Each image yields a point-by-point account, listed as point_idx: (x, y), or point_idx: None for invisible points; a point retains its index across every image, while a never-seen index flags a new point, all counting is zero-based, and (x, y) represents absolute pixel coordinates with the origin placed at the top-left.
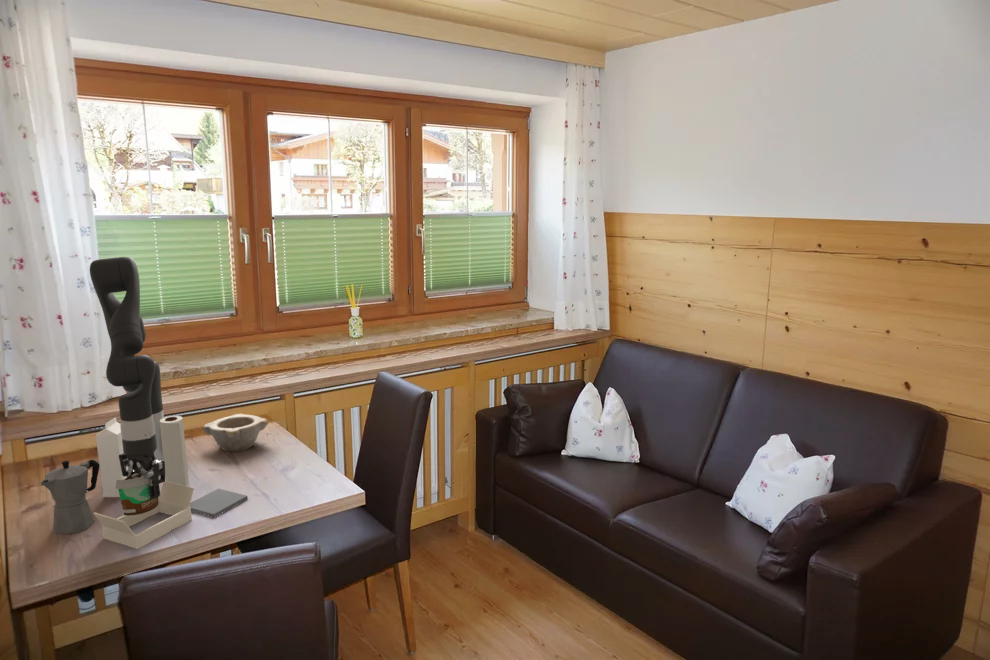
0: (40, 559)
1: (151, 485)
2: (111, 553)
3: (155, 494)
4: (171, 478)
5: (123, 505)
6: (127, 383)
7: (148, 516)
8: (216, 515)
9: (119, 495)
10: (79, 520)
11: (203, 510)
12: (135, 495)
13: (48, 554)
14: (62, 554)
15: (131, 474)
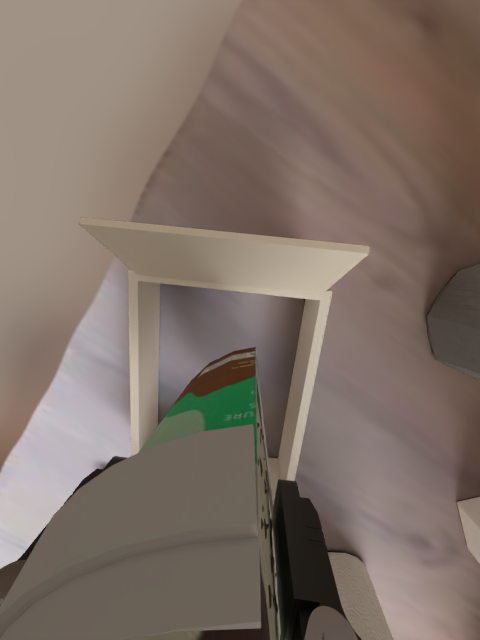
0: (430, 79)
1: (8, 570)
2: (208, 217)
3: (77, 488)
4: (348, 613)
5: (244, 366)
6: None
7: (283, 429)
8: None
9: (478, 503)
10: (476, 308)
11: None
12: (153, 437)
13: (428, 123)
14: (373, 144)
15: None
